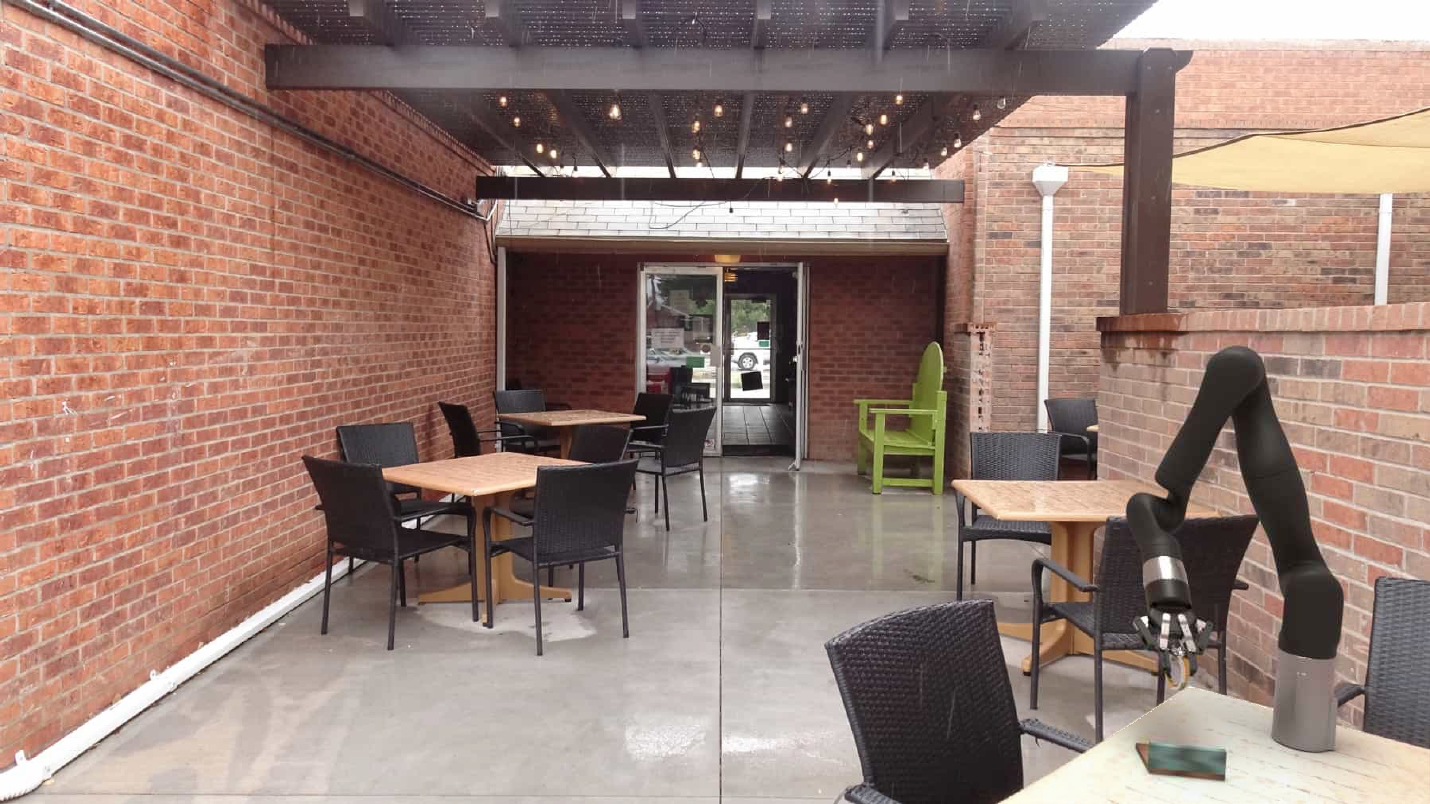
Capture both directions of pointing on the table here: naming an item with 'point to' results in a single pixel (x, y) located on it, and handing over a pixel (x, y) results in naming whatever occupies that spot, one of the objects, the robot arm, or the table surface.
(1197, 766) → the desk nameplate
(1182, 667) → the gold diamond ring
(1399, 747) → the table surface
